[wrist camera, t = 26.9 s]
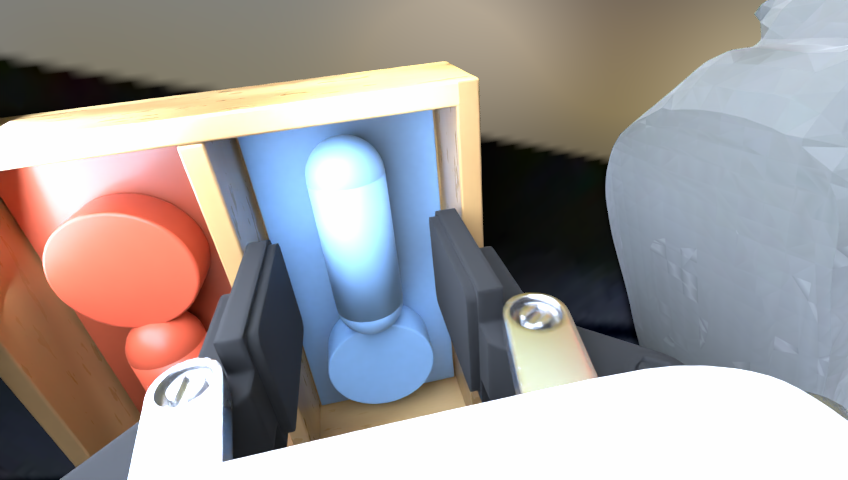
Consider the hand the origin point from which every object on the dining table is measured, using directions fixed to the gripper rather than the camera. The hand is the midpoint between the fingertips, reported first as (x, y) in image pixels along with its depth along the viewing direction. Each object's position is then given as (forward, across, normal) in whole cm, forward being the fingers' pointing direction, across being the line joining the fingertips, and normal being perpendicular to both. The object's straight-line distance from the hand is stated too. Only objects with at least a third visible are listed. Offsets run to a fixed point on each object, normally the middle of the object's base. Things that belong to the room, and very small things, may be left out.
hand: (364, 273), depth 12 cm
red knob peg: (+2, +6, +2) cm, 7 cm away
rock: (+3, -16, +2) cm, 16 cm away
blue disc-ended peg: (+2, 0, +2) cm, 3 cm away
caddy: (+3, +3, +2) cm, 5 cm away
